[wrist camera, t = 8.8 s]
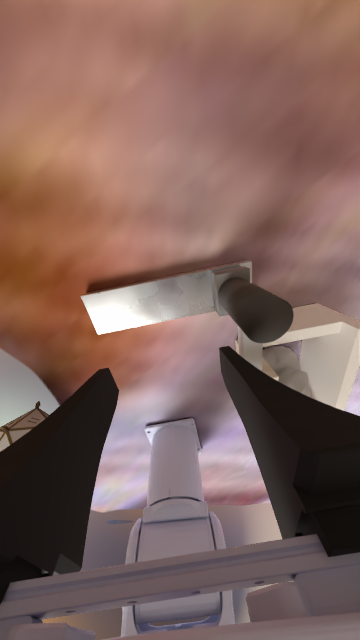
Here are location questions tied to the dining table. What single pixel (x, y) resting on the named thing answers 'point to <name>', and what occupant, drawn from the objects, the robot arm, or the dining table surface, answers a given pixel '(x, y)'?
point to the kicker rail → (155, 299)
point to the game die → (20, 426)
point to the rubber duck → (287, 368)
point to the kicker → (251, 314)
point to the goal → (326, 351)
